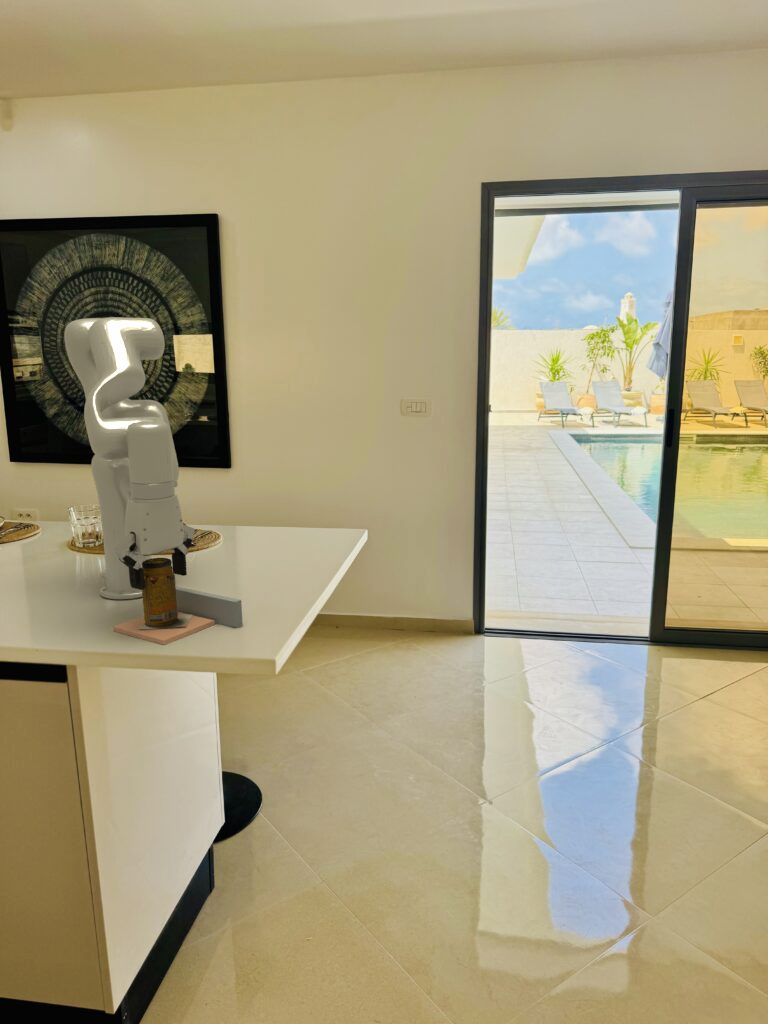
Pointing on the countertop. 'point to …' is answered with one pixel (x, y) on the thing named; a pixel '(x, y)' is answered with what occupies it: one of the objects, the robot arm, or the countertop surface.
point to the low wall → (210, 606)
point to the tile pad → (163, 629)
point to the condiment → (160, 596)
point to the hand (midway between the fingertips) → (159, 581)
